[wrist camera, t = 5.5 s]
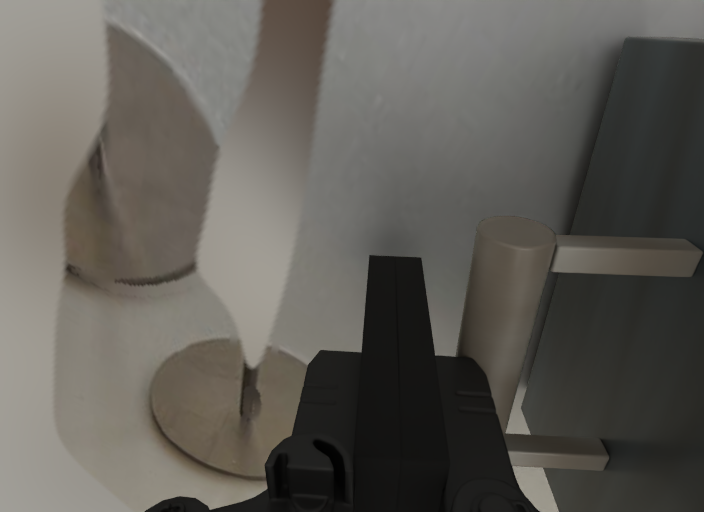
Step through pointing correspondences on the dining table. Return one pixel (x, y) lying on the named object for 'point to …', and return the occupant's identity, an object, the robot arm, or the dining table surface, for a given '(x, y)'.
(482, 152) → the dining table surface
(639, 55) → the drawer
